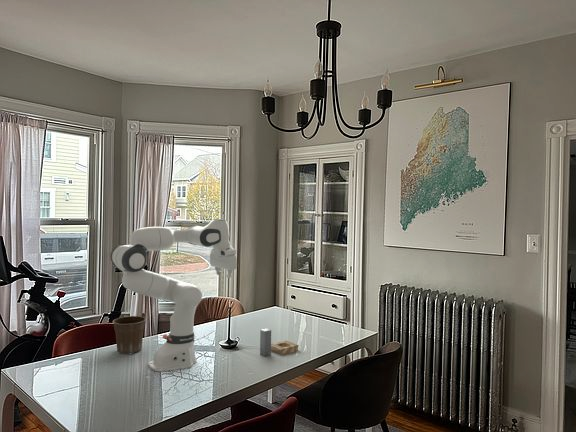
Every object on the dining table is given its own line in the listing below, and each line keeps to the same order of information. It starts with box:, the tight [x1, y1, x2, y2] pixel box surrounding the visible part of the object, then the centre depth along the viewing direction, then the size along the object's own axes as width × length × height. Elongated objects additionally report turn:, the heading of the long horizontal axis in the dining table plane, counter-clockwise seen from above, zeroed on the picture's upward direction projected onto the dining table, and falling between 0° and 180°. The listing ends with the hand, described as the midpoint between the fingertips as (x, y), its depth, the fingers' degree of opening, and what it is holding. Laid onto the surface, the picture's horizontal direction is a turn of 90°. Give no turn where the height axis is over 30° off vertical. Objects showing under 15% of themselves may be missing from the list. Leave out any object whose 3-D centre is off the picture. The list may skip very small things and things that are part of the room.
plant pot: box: [112, 315, 147, 355], centre depth 234 cm, size 16×16×16 cm
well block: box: [271, 340, 299, 356], centre depth 238 cm, size 12×10×3 cm
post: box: [259, 327, 272, 358], centre depth 230 cm, size 4×4×13 cm
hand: (223, 276), depth 232 cm, fingers open, 8 cm apart
